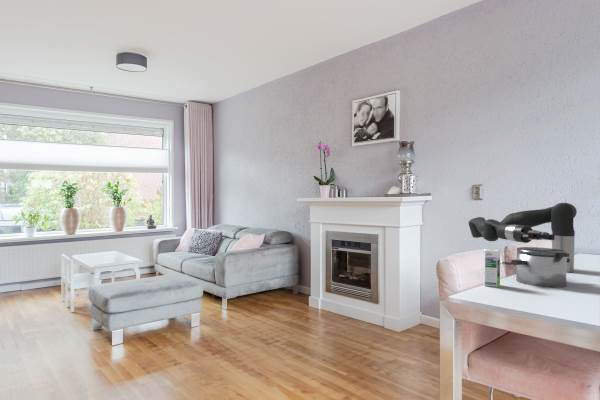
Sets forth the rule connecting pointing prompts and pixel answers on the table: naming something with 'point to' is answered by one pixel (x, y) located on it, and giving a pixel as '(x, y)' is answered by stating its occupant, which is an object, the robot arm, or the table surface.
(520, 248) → the lid
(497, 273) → the syrup box
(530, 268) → the pot
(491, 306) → the table surface
